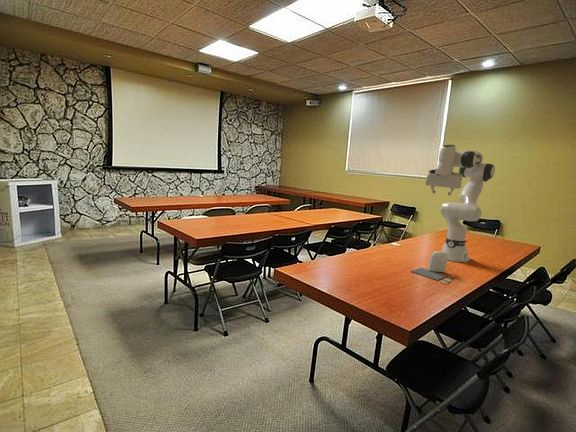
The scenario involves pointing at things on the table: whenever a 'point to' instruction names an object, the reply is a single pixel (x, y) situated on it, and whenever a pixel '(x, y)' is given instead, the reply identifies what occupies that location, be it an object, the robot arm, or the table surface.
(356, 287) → the table surface
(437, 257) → the photo printer
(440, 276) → the mat
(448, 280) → the turner
